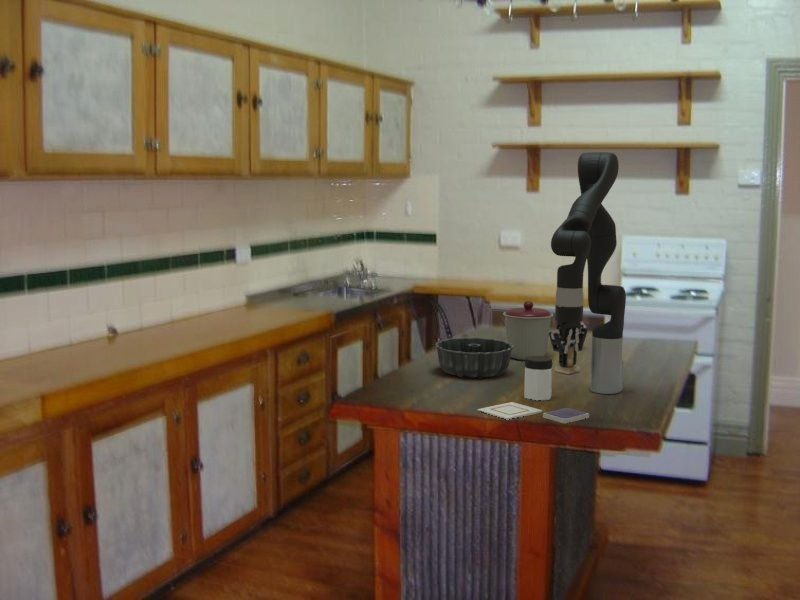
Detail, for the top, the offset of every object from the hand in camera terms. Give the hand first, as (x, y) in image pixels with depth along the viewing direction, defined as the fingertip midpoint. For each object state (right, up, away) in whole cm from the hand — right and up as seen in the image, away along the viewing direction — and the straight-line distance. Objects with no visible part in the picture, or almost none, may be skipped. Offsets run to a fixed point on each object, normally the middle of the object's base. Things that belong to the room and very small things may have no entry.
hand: (567, 365), depth 256 cm
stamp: (0, -2, 0) cm, 2 cm away
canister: (0, -4, +84) cm, 85 cm away
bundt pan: (-21, -7, +59) cm, 63 cm away
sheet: (-15, -14, +8) cm, 22 cm away
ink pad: (0, -15, +2) cm, 15 cm away
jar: (-4, -12, +25) cm, 28 cm away
